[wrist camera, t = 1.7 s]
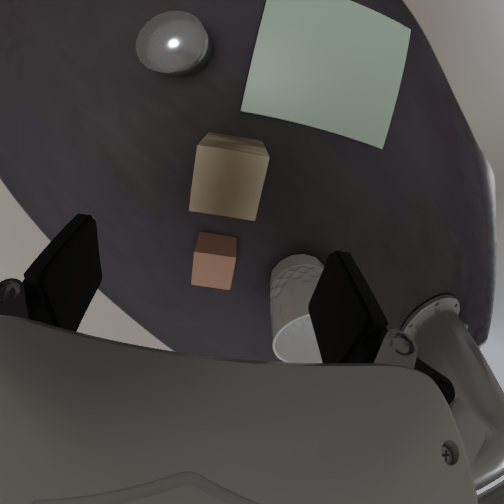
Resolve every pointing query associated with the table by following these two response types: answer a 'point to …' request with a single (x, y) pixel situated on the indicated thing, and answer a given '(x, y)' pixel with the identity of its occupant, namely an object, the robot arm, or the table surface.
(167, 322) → the table surface
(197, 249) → the terracotta cube
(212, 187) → the maple block
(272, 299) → the white cup
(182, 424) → the robot arm
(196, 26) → the grey metal cylinder
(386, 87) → the sage plate
